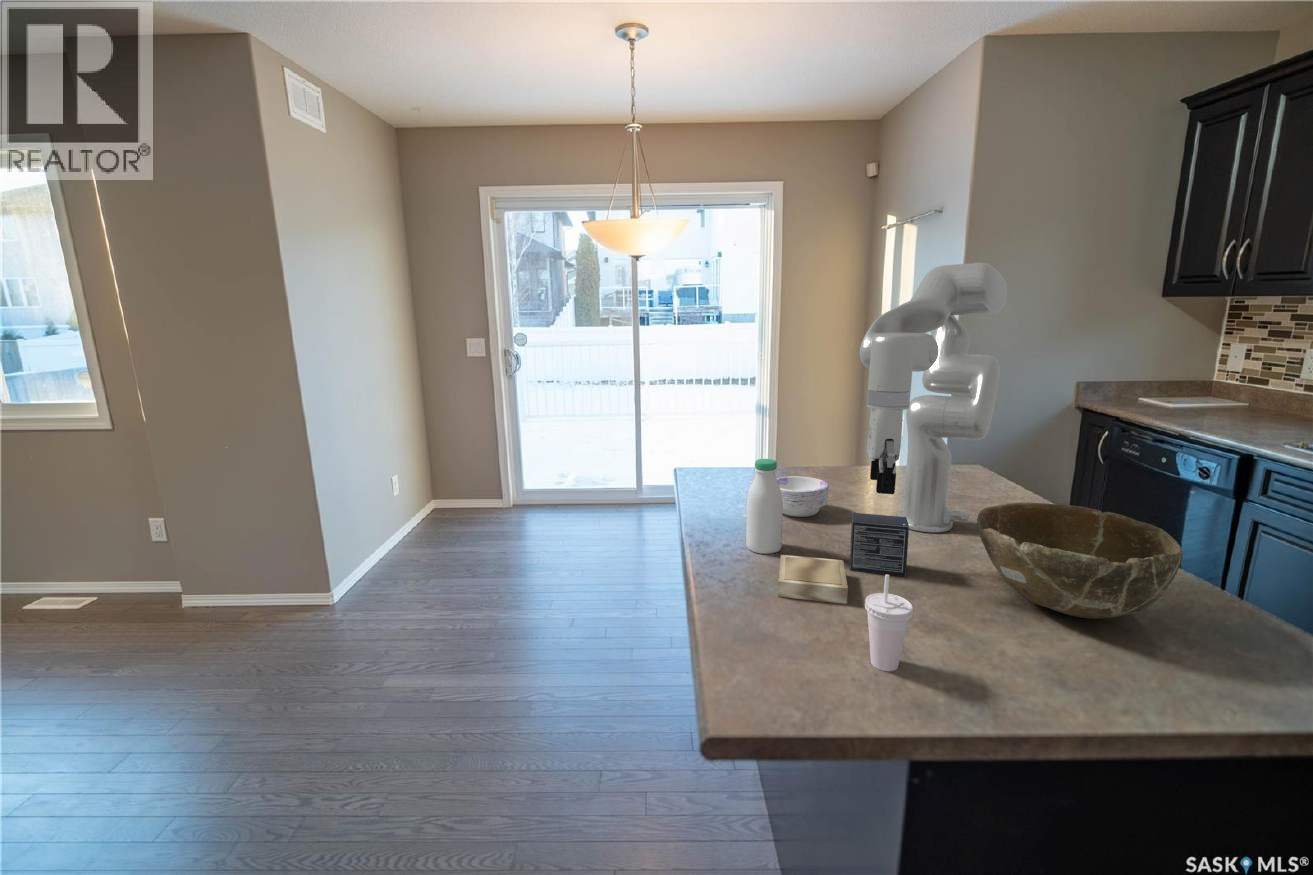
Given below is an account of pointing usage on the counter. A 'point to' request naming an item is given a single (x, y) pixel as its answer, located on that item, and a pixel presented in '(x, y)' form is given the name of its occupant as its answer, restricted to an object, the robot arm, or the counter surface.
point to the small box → (879, 544)
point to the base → (812, 579)
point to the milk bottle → (764, 510)
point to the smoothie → (887, 627)
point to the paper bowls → (802, 495)
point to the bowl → (1079, 557)
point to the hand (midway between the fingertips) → (881, 486)
